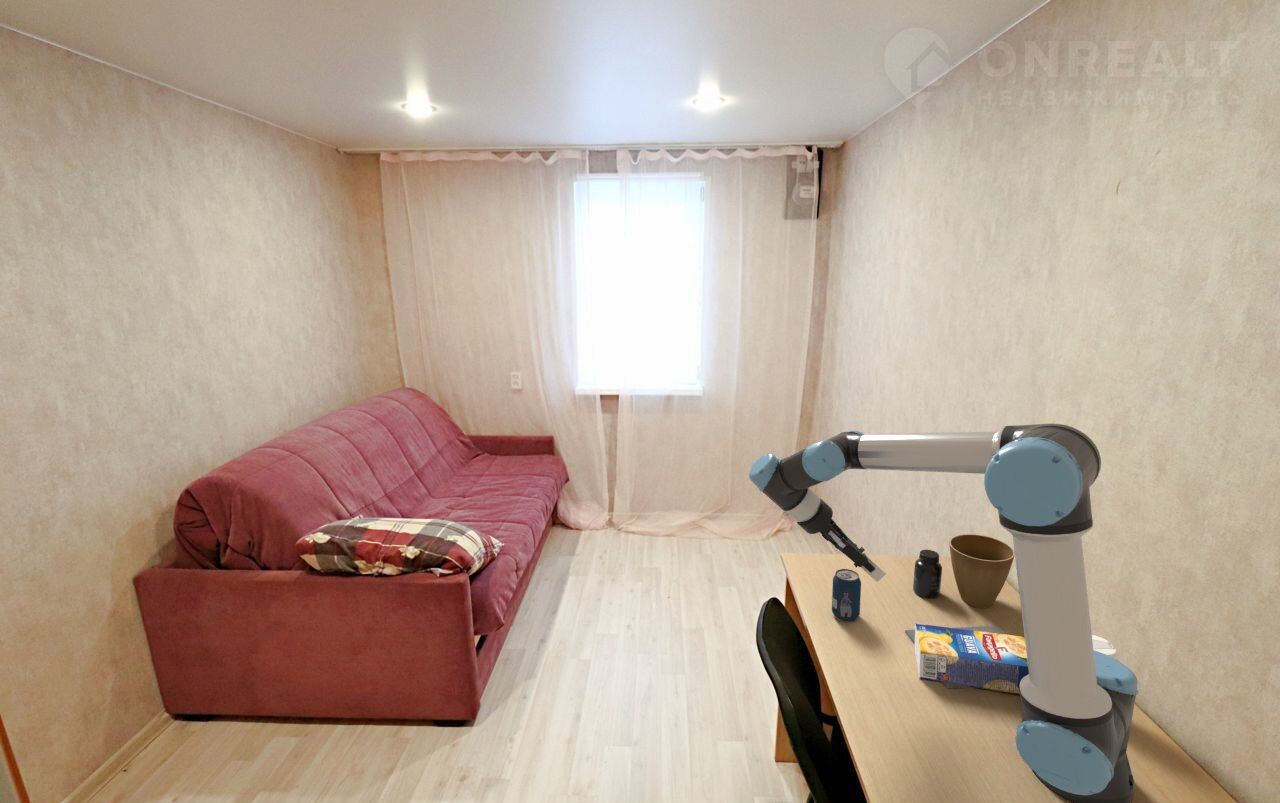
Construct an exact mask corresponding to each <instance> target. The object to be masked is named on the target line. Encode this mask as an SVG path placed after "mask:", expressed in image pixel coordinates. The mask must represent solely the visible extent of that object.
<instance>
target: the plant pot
mask: <svg viewBox="0 0 1280 803" xmlns="http://www.w3.org/2000/svg"><path fill="white" fill-rule="evenodd" d="M948 542H949V553H950V560H951V566H952V571H953V576H954V581H955V583H956V587H957V590H958V593H959V596H960V598H961V600H962V601H963V602H964V603H966V604H967V605H968V606H971V607H972V606H973V607H975V608H979V609H980V608H981V609H983V608H984V609H986V608H990V607H992V606H993V604H994V603H995V601H996V600H997V598H998V596H999V595H1000V593H1001V592H1002V590H1003V587H1004V585H1005V584H1006V580H1007V579H1008V576H1009V574H1010V571H1011V568H1012V565H1013V562H1014V560H1015V559H1014V558H1015V552H1014V547H1012V546H1011V545H1009V544H1008V543H1006V542H1005V541H1002V540H1000V539H997V538H994V537H992V536H987V535H983V534H982V535H981V534H976V533H975V534H974V533H972V534H971V533H967V534H965V533H964V534H957V535H955V536H953V537H951V538H950V540H949V541H948Z"/></svg>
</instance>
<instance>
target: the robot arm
mask: <svg viewBox="0 0 1280 803" xmlns="http://www.w3.org/2000/svg"><path fill="white" fill-rule="evenodd" d="M1101 468H1102V458H1101V454H1100V451H1099V449H1098V446H1097V445H1096V444H1095V443H1094V441H1093V440H1092V438H1090V437H1089V436H1088V435H1087V434H1086V433H1084V432H1083V431H1081V430H1079V429H1077V428H1075V427H1073V426H1070V425H1067V424H1062V423H1037V424H1023V425H1021V424H1020V425H1004V426H1002V428H1000V429H999V430H998V431H959V432H958V431H957V432H956V431H955V432H953V431H952V432H947V431H946V432H898V433H897V432H895V433H894V432H893V433H863V432H861V431H858V430H854V429H853V430H848V431H842V432H840V433H837V434H836V435H834V436H832V437H830V438H827V439H824V440H820V441H818V442H814V443H812V444H810V445H808V446H807V447H805V448H803V449H801V450H799V451H797V452H795V453H793V454H792V455H790V456H786V457H784V458H781V459H779V457H778V456H775V454H773V453H765V454H763V455H762V456H760V457H759V458H758V459H756V461H755V462H754V463H753V464H752V466H751V467H750V470H749V473H748V476H749V477H748V478H749V479H750V481H751V482H752V483H753V484H754V485H755V487H756V488H757V489H759V491H760V492H762V493H763V494H764V495H766V497H768V498H769V499H770V500H771V501H772V502H773V503H774V504H775V505H777V507H778V508H780V509H781V510H782V511H783V512H784V513H783V515H784V516H785V517H788V516H789V517H790V518H791V519H792V520H793V521H794V522H796V524H797V525H798V526H800V528H802V529H803V530H804V532H806V533H807V534H809V535H815V534H818V533H820V534H821V537H822V538H823V539H825V541H827V542H829V543H831V544H832V545H833V546H834V547H835V549H836V550H839V551H840V552H841V553H843V555H845V556H846V557H847V558H848V559H849V560H851V562H853V565H854V567H855V568H857V567H859V568H861V569H862V570H864V571H863V572H865V573H867V574H868V575H869V577H871V578H872V579H873V580H874V581H875V582H876V583H878V582H879V581H880V580H881V579H883V577H885V576H886V575H887V573H886V572H885V571H884V570H883V569H882V568H881V567H880V566H879V565H878V564H877V563H875V561H873V560H872V559H871V558H870V557H869V556H868V555H867V553H865V550H866V549H865V548H864V547H863V546H861V547H860V548H859V547H858V545H857V544H856V543H854V542H853V540H851V539H850V537H848V536H847V535H846V533H845V532H844V531H843V529H842V528H841V527H839V525H838V524H837V522H836V521H835V520H834V519H832V518H833V517H834V516H833V515H834V514H833V513H834V511H833V508H832V507H831V506H830V505H828V503H826V502H825V500H823V499H822V498H820V496H819V495H818V494H817V493H816V492H815V491H814V490H813V489H812V488H811V487H814V486H817V485H819V484H822V483H824V482H828V481H830V480H832V479H834V478H836V477H837V476H839V475H840V474H842V473H844V472H845V471H847V470H877V471H900V472H901V471H903V472H930V473H931V472H934V473H952V474H953V473H956V474H983V475H984V478H983V479H984V480H983V482H984V490H985V493H986V496H987V498H988V500H989V502H990V504H991V505H992V506H993V508H995V509H996V510H997V511H998V512H997V513H998V518H999V519H998V520H999V525H1000V527H1002V528H1003V529H1005V531H1007V532H1009V534H1011V535H1012V540H1013V541H1012V542H1013V550H1014V552H1015V555H1014V558H1015V559H1014V560H1015V566H1016V575H1017V585H1018V593H1019V600H1020V609H1021V617H1022V626H1023V627H1022V628H1023V637H1024V638H1025V645H1026V654H1027V662H1028V670H1029V674H1028V675H1027V676H1025V677H1024V678H1023V679H1022V680H1021V681H1020V694H1019V696H1020V704H1021V711H1022V712H1021V714H1022V716H1021V718H1022V719H1021V722H1020V723H1019V725H1017V728H1016V732H1015V742H1014V743H1015V746H1016V749H1017V752H1018V754H1019V756H1020V757H1021V759H1022V760H1023V761H1024V762H1025V765H1027V767H1028V768H1029V769H1030V770H1031V771H1032V772H1033V774H1034V775H1035V776H1036V777H1037V778H1038V779H1039V780H1040V781H1041V782H1042V783H1043V784H1044V785H1045V786H1046V787H1047V788H1049V789H1050V790H1051V791H1053V792H1054V793H1056V794H1057V795H1059V796H1061V797H1062V798H1064V799H1065V800H1067V801H1070V802H1072V803H1132V802H1133V798H1134V794H1135V780H1134V776H1133V772H1132V769H1131V768H1132V767H1131V765H1130V761H1129V758H1128V753H1127V750H1128V749H1127V748H1128V743H1129V738H1130V732H1131V725H1132V721H1133V713H1134V708H1135V702H1136V698H1137V695H1138V694H1139V690H1138V682H1139V681H1138V677H1137V676H1136V673H1135V672H1134V671H1133V670H1132V669H1131V668H1130V667H1128V666H1127V665H1125V664H1124V663H1123V662H1122V661H1119V659H1118V660H1116V659H1114V658H1112V657H1110V656H1108V655H1106V654H1103V653H1101V652H1098V651H1095V650H1093V641H1092V635H1093V633H1092V623H1091V617H1090V616H1091V614H1090V605H1089V596H1088V588H1087V579H1086V578H1087V577H1086V569H1085V568H1086V567H1085V561H1084V549H1083V543H1082V542H1083V541H1082V537H1083V536H1085V534H1087V533H1088V532H1090V531H1091V530H1092V529H1093V527H1094V526H1093V525H1094V522H1093V521H1094V520H1093V512H1092V511H1093V510H1092V501H1091V493H1090V491H1091V490H1090V487H1091V486H1092V485H1094V483H1095V481H1096V480H1097V479H1098V477H1099V474H1100V471H1101Z"/></svg>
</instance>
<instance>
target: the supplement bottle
mask: <svg viewBox="0 0 1280 803" xmlns="http://www.w3.org/2000/svg"><path fill="white" fill-rule="evenodd" d="M942 576H943V566H942V564H941V563H940V554H939V553H938V552H937V551H935V550H932V549H921V550H920V552H919V557H918V558H917V559H916V560H915V562H914V570H913V584H912V589H913V592H914V593H915V594H916V595H918V596H919V597H921V598H925V599H930V600H931V599H936V598H938V597H939V596H940V595H941V594H940V593H941V585H942Z"/></svg>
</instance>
